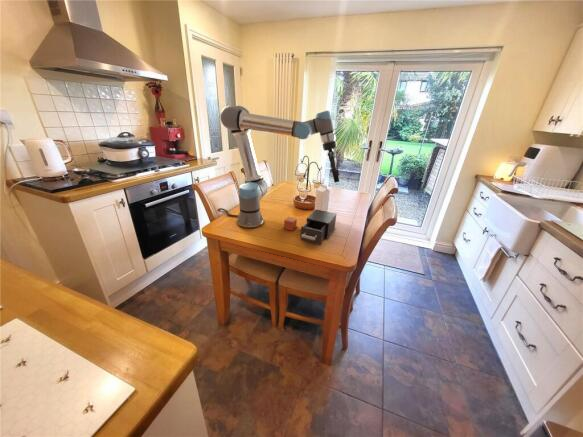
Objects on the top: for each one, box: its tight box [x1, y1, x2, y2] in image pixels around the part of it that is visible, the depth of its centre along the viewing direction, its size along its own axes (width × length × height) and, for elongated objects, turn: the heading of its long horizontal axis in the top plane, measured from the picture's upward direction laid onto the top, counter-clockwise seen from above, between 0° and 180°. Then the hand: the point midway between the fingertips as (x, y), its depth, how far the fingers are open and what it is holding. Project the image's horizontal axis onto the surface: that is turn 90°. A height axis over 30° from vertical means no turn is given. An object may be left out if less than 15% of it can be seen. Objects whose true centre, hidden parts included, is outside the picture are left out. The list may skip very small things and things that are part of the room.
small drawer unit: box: [305, 209, 337, 240], centre depth 133 cm, size 15×13×10 cm
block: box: [283, 216, 298, 232], centre depth 136 cm, size 6×6×6 cm
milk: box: [314, 183, 331, 212], centre depth 147 cm, size 6×6×22 cm
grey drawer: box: [299, 220, 327, 246], centre depth 123 cm, size 18×11×8 cm, turn 155°
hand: (337, 178), depth 135 cm, fingers open, 13 cm apart
